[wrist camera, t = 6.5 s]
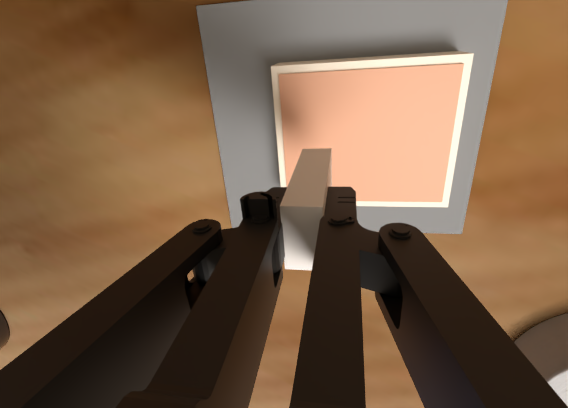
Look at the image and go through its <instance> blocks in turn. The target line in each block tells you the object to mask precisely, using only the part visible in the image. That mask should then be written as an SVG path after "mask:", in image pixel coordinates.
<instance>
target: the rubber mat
mask: <svg viewBox="0 0 568 408" xmlns="http://www.w3.org/2000/svg"><path fill="white" fill-rule="evenodd" d="M507 2H508V0H249V1H240V2H230V3H220V4H210V5H200V6H196V10H197V16H198V22H199V28H200V34H201V40H202V46H203V53H204V59H205V65H206V71H207V77H208V83H209V89H210V95H211V102H212V108H213V114H214V120H215V126H216V132H217V138H218V145H219V151H220V157H221V163H222V169H223V175H224V181H225V187H226V194H227V200H228V206H229V212H230V218H231V224H232V228H235V227H238V226H239V225H240V223H241V221H242V219H243V217H242V211H241V204H240V198H241V197H242V196H244V195H246V194H248V193H252V192H260V191H263V192H266V191H268V190H269V189H270V188H272V187H281V185H280V173H279V160H278V148H277V136H276V124H275V112H274V99H273V87H272V75H271V66H273V65H275V64H277V63H282V62H297V61H313V60H328V59H343V58H359V57H374V56H389V55H404V54H420V53H435V52H450V51H462V52H468V53H474V55H473V61H472V67H471V73H470V79H469V85H468V91H467V97H466V103H465V109H464V115H463V121H462V127H461V133H460V139H459V145H458V151H457V156H456V162H455V168H454V174H453V180H452V186H451V192H450V198H449V204H448V207H387V206H356V209H357V220H358V223H359V224H360V225H361V226H362V227H364V228H366V229H368V230H372V231H376V232H379V230H380V228H381V227H382V226H384V225H386V224H390V223H406V224H409V225H412V226H414V227H416V228H417V229H419V230H420V231H421V232H422V233H445V234H462V231H463V226H464V220H465V215H466V210H467V205H468V200H469V195H470V190H471V185H472V180H473V175H474V170H475V165H476V160H477V155H478V149H479V144H480V139H481V134H482V129H483V124H484V119H485V114H486V109H487V104H488V99H489V94H490V89H491V84H492V79H493V73H494V68H495V63H496V58H497V53H498V48H499V43H500V38H501V33H502V28H503V23H504V18H505V13H506V8H507Z"/></svg>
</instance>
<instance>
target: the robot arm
mask: <svg viewBox="0 0 568 408" xmlns="http://www.w3.org/2000/svg"><path fill="white" fill-rule="evenodd" d="M240 204H241V211H242V217H243V219H242V221H241V223H240V225H239V226H238V227H235V228H230V229H223V230H221V225H220V223H219V222H218V221H216V220H211V219H202V220H198V221H196V222H193V223H191V224H189V225H188V226H186V227H185V228H184V229H183V230H181V231H180V232H179V233H177V234H176V235H175V236H173V237H172V238H171V239H170V240H168V241H167V242H166V243H164V244H163V245H162V246H160V247H159V248H158V249H157V250H155V251H154V252H153V253H151V254H150V255H149V256H148V257H146V258H145V259H144V260H142V261H141V262H140V263H138V264H137V265H136V266H135V267H133V268H132V269H131V270H129V271H128V272H127V273H126V274H124V275H123V276H122V277H120V278H119V279H118V280H116V281H115V282H114V283H113V284H111V285H110V286H109V287H107V288H106V289H105V290H103V291H102V292H101V293H100V294H98V295H97V296H96V297H94V298H93V299H92V300H91V301H89V302H88V303H87V304H85V305H84V306H83V307H81V308H80V309H79V310H78V311H76V312H75V313H74V314H72V315H71V316H70V317H69V318H67V319H66V320H65V321H63V322H62V323H61V324H59V325H58V326H57V327H56V328H54V329H53V330H52V331H50V332H49V333H48V334H47V335H45V336H44V337H43V338H41V339H40V340H39V341H37V342H36V343H35V344H34V345H32V346H31V347H30V348H28V349H27V350H26V351H24V352H23V353H22V354H21V355H19V356H18V357H17V358H15V359H14V360H13V361H12V362H10V363H9V364H8V365H6V366H5V367H4V368H2V369H1V370H0V408H248V406H249V403H250V399H251V395H252V391H253V388H254V384H255V380H256V376H257V372H258V369H259V365H260V361H261V357H262V354H263V350H264V346H265V342H266V339H267V335H268V331H269V327H270V324H271V320H272V316H273V312H274V309H275V305H276V301H277V297H278V294H279V290H280V286H281V282H282V279H283V271H282V264H283V261H284V262H285V269H296V270H312V273H311V279H310V285H309V291H308V297H307V303H306V310H305V316H304V322H303V328H302V334H301V341H300V347H299V353H298V359H297V365H296V372H295V378H294V384H293V390H292V396H291V402H290V407H289V408H366V404H365V379H364V355H363V331H362V306H361V287H362V288H365V289H369V290H372V291H375V297H376V300H377V302H378V304H379V306H380V309H381V311H382V313H383V315H384V318H385V320H386V322H387V324H388V327H389V329H390V331H391V333H392V336H393V338H394V340H395V342H396V344H397V347H398V349H399V351H400V353H401V356H402V358H403V360H404V362H405V365H406V367H407V369H408V371H409V374H410V376H411V378H412V380H413V382H414V385H415V387H416V389H417V391H418V394H419V396H420V398H421V400H422V403H423V405H424V407H425V408H568V406H567V405H566V404H565V403H564V402H563V400H562V399H561V398H560V397H559V396H558V394H557V393H556V392H555V391H554V390H553V388H552V387H551V386H550V385H549V384H548V382H547V381H546V380H545V379H544V378H543V376H542V375H541V374H540V373H539V372H538V371H537V369H536V368H535V367H534V366H533V365H532V363H531V362H530V361H529V360H528V359H527V357H526V356H525V355H524V354H523V353H522V351H521V350H520V349H519V348H518V347H517V345H516V344H515V343H514V342H513V341H512V340H511V338H510V337H509V336H508V335H507V334H506V332H505V331H504V330H503V329H502V328H501V326H500V325H499V324H498V323H497V322H496V320H495V319H494V318H493V317H492V316H491V314H490V313H489V312H488V311H487V310H486V308H485V307H484V306H483V305H482V304H481V303H480V301H479V300H478V299H477V298H476V297H475V295H474V294H473V293H472V292H471V291H470V289H469V288H468V287H467V286H466V285H465V283H464V282H463V281H462V280H461V279H460V277H459V276H458V275H457V274H456V273H455V272H454V270H453V269H452V268H451V267H450V266H449V264H448V263H447V262H446V261H445V260H444V258H443V257H442V256H441V255H440V254H439V252H438V251H437V250H436V249H435V248H434V246H433V245H432V244H431V243H430V242H429V241H428V239H427V238H426V237H425V236H424V235H423V233H422V232H421V231H420V230H419V229H417V228H416V227H414V226H412V225H409V224H406V223H390V224H386V225H384V226H382V227H381V228H380V230H379V232H376V231H372V230H368V229H366V228H364V227H362V226H361V225H360V224H359V223H358V220H357V209H356V191H355V190H354V189H353V188H352V187H333V186H332V148H321V149H302V152H301V154H300V157H299V159H298V162H297V164H296V167H295V169H294V172H293V174H292V177H291V179H290V182H289V184H288V187H272V188H270V189H269V190H268V191H266V192H263V191H260V192H252V193H248V194H246V195H244V196H242V197H241V198H240ZM191 270H193V274H194V277H193V278H192V279H191V280H190V281H189V280H188V278H187V275H188V273H189V272H190V271H191ZM8 339H9V329H8V325H7V323H6V321H5V319H4V317H3V315H2V314H1V312H0V349H1V348H2V347H3V346H4V345H5V344H6V343H7V342H8Z"/></svg>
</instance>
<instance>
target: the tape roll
mask: <svg viewBox="0 0 568 408" xmlns="http://www.w3.org/2000/svg"><path fill="white" fill-rule="evenodd" d="M514 343H515V344H516V345H517V347H518V348H519V349H520V350H521V351H522V353H523V354H524V355H525V356H526V357H527V359H528V360H529V361H530V362H531V363H532V365H533V366H534V367H535V368H536V369H537V371H538V372H539V373H540V374H541V375H542V376H543V378H544V379H545V380H546V381H547V382H548V384H549V385H550V386H551V387H552V388H553V390H554V391H555V392H556V393H557V394H558V396H559V397H560V398H561V399H562V400H563V402H564V403H565V404H566V405H567V406H568V313H566V314H563V315H559V316H556V317H553V318H551V319H548V320H546V321H544V322H542V323H540V324H538V325H536V326H534V327H532V328H531V329H529V330H528V331H526V332H525V333H523V334H522V335H521V336H520V337H519V338H518V339H516V341H515V342H514Z"/></svg>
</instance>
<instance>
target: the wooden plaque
mask: <svg viewBox="0 0 568 408" xmlns="http://www.w3.org/2000/svg"><path fill="white" fill-rule="evenodd" d="M473 55H474V53H468V52H462V51H450V52H435V53H420V54H404V55H389V56H374V57H359V58H343V59H328V60H313V61H297V62H282V63H277V64H275V65H273V66H271V75H272V87H273V99H274V112H275V124H276V136H277V148H278V160H279V173H280V185H281V187H288V184H289V182H290V179H291V177H292V174H293V172H294V169H295V167H296V164H297V162H298V159H299V157H300V154H301V152H302V149H321V148H332V186H333V187H352V188H353V189H354V190H355V191H356V206H387V207H448V204H449V198H450V192H451V186H452V180H453V174H454V168H455V162H456V156H457V151H458V145H459V139H460V133H461V127H462V121H463V115H464V109H465V103H466V97H467V91H468V85H469V79H470V73H471V67H472V61H473Z"/></svg>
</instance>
